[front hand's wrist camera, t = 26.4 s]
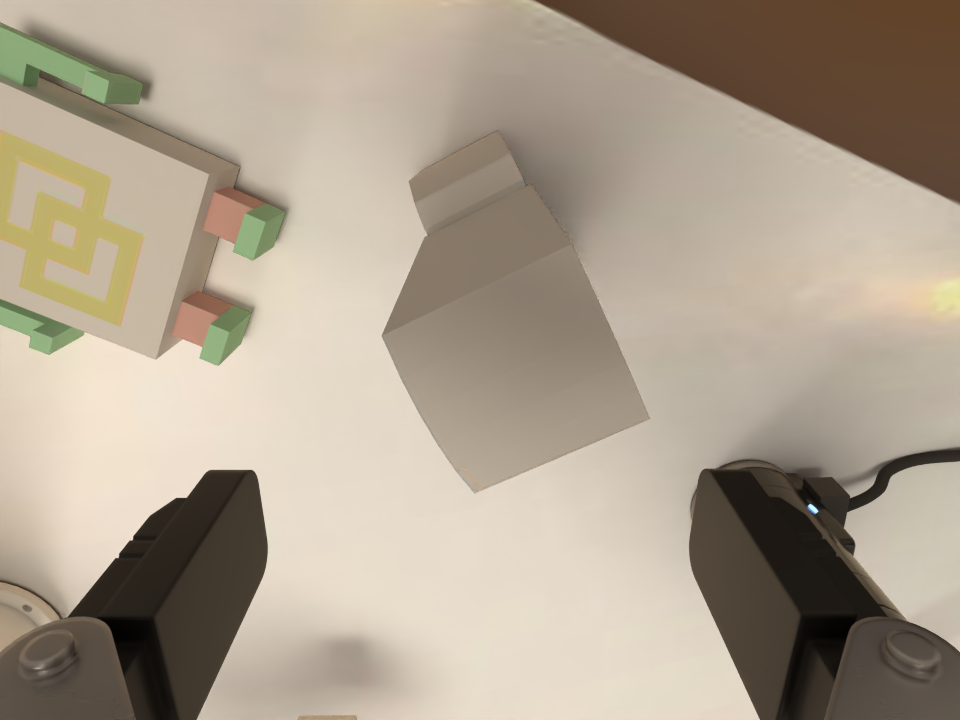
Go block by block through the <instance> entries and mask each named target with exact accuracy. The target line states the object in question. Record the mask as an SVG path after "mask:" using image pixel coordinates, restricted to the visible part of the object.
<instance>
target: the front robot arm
mask: <svg viewBox="0 0 960 720" xmlns="http://www.w3.org/2000/svg"><path fill="white" fill-rule="evenodd" d="M956 461H960V450H956V451H941V452H929V453H921V454H916V455H911V456H907V457H904V458H901V459H898V460H896V461H894V462H892V463H890V464H888V465H886V466H885V467H883V468H882V469H881V470H880V471H879V473H878V475H877V477H876V480H875V483H874V485H873V486H872V487H871V488H870V489H868V490H867V491H865V492H864V493H862V494H860V495H857V496H855V497H853V498H850V495H849V494H848V493H847V492H846V491H845V490H844V489H843V488H842V487H841V486H840V485H839V484H838V483H837V482H836V481H835V480H834V479H833V478H832V477H824V478H804V482H803V481H802V480H801V478H800V477H799V476H798V475H797V474H785V473H784V472H783V471H782V470H781V469H779V468H778V467H776V466H774V465H772V464H769V463H766V462H761V461H741V462H736V463H732V464H729V465H727V466H724V467H722V468H720V469H704V470H702V472H701V474H700V476H699V480H698V486H697V491H696V493H695V495H694V497H693V500H692V504H691V518H692V526H691V533H690V541H689V554H690V562H691V567H692V571H693V574H694V577H695V579H696V581H697V583H698V586H699V588H700V590H701V592H702V594H703V597H704V599H705V601H706V603H707V605H708V607H709V610H710V612H711V614H712V616H713V618H714V620H715V623H716V625H717V627H718V629H719V631H720V634H721V636H722V638H723V640H724V642H725V644H726V647H727V649H728V651H729V653H730V655H731V657H732V660H733V662H734V664H735V666H736V668H737V671H738V673H739V675H740V677H741V679H742V681H743V684H744V686H745V688H746V690H747V692H748V694H749V697H750V699H751V701H752V703H753V705H754V708H755V710H756V712H757V714H758V716H759V718H760V720H960V652H959V651H958V650H957V649H956V648H955V647H953V646H952V645H951V644H950V643H948V642H947V641H946V640H944V639H942V638H941V637H939V636H938V635H936V634H934V633H933V632H931V631H929V630H927V629H925V628H923V627H920V626H918V625H916V624H913V623H910V622H908V621H907V620H906V619H905V617H904V616H903V615H902V614H901V613H900V611H899V610H898V609H897V608H896V607H895V605H894V604H893V603H892V602H891V601H890V600H889V598H888V597H887V596H886V595H885V594H884V592H883V591H882V590H881V589H880V588H879V586H878V585H877V584H876V583H875V582H874V581H873V579H872V578H871V577H870V576H869V575H868V573H867V572H866V571H865V570H864V569H863V567H862V566H861V565H860V564H859V563H858V561H857V560H856V559H855V558H854V557H853V556H854V551H855V541H854V540H853V538H852V537H851V536H850V535H849V534H848V532H847V531H846V530H845V529H844V524H845V519H846V514H847V512H849V511H851V510H854V509H857V508H859V507H861V506H864V505H866V504H868V503H870V502H872V501H873V500H875V499H876V498H878V497H879V496H880V495H881V494H882V493H883V492H884V491H885V490H886V488H887V486H888V482H889V479H890V477H891V476H892V475H893V474H895V473H897V472H899V471H901V470H904V469H906V468H909V467H913V466H917V465H923V464H930V463H942V462H956ZM267 553H268V544H267V536H266V529H265V522H264V516H263V509H262V503H261V496H260V489H259V483H258V478H257V476H256V473H255V472H254V471H253V470H209V471H208V472H206V473H205V475H204V476H203V477H202V479H201V480H200V481H199V482H198V484H197V485H196V486H195V488H194V489H193V490H192V492H191V493H190V494H189V496H188V497H187V498H176V499H174V500H173V501H171V502H170V503H168V504H167V505H165V506H164V507H162V508H161V509H159V510H158V511H156V512H155V513H153V514H152V515H151V516H150V517H149V518H148V519H147V520H146V521H145V523H144V524H143V525H142V526H141V528H140V529H139V530H138V531H137V533H136V534H135V535H134V536H133V541H129V542H128V544H127V545H126V546H125V547H124V549H123V550H122V551H121V552H120V553H119V558H115V560H114V561H113V562H112V563H111V565H110V566H109V567H108V568H107V569H106V571H105V572H104V573H103V574H102V576H101V577H100V578H99V579H98V580H97V582H96V583H95V584H94V585H93V587H92V588H91V589H90V590H89V592H88V593H87V594H86V595H85V596H84V598H83V599H82V600H81V601H80V603H79V604H78V605H77V606H76V608H75V609H74V610H73V611H72V612H71V614H70V615H69V616H68V617H67V618H64V619H60V620H56V621H53V622H50V623H47V624H44V625H42V626H40V627H37V628H35V629H33V630H31V631H29V632H27V633H26V634H24V635H22V636H21V637H19V638H18V639H16V640H14V641H13V642H12V643H10V644H9V645H8V646H7V647H5V648H4V649H3V650H2V651H1V652H0V720H197V717H198V715H199V713H200V711H201V709H202V707H203V705H204V702H205V700H206V698H207V696H208V694H209V692H210V690H211V687H212V685H213V683H214V681H215V679H216V677H217V674H218V672H219V670H220V668H221V666H222V664H223V662H224V659H225V657H226V655H227V653H228V651H229V649H230V647H231V644H232V642H233V640H234V638H235V636H236V634H237V631H238V629H239V627H240V625H241V623H242V621H243V619H244V616H245V614H246V612H247V610H248V608H249V606H250V604H251V601H252V599H253V597H254V595H255V593H256V591H257V589H258V586H259V584H260V582H261V580H262V578H263V575H264V572H265V568H266V563H267Z"/></svg>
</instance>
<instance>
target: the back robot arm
mask: <svg viewBox="0 0 960 720" xmlns="http://www.w3.org/2000/svg"><path fill="white" fill-rule="evenodd" d="M56 620H60V618H59V616H58V615H57V614H56V612H55V611H54V610H53V609H52V608H51V607H50V606H49V605H48V604H47V603H45V602H44V601H43V600H42V599H40V598H39V597H37V596H35V595H34V594H32V593H31V592H29V591H26V590H24V589H22V588H19V587H17V586H14V585H10V584H7V583H2V582H0V652H1V651H2V650H3V649H4V648H5V647H7V646H8V645H9V644H10V643H12V642H13V641H14V640H16V639H18V638H19V637H21V636H22V635H24V634H26V633H27V632H29V631H31V630H33V629H35V628H37V627H40V626H42V625H44V624H47V623H50V622H53V621H56Z"/></svg>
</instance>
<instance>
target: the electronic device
mask: <svg viewBox="0 0 960 720" xmlns="http://www.w3.org/2000/svg"><path fill="white" fill-rule="evenodd" d="M409 184H410V188H411V191H412V195H413V199H414V203H415V205H416V208H417V211H418V213H419V216H420V219H421V221H422V224H423V227H424V229H425V231H426V232H427V234H428V236H426V237H425V238H424V240H423V242H422V244H421V247H420V249H419V251H418V254H417V256H416V258H415V260H414V263H413V265H412V267H411V270H410V272H409V274H408V277H407V279H406V281H405V283H404V286H403V288H402V290H401V293H400V295H399V297H398V299H397V302H396V304H395V306H394V309H393V311H392V313H391V316H390V318H389V320H388V322H387V325H386V327H385V329H384V332H383V334H382V338H383V340H384V342H385V344H386V347H387V349H388V351H389V353H390V355H391V358H392V360H393V362H394V364H395V366H396V369H397V371H398V373H399V375H400V378H401V380H402V382H403V384H404V385H405V387H406V389H407V391H408V393H409V395H410V397H411V399H412V401H413V403H414V404H415V406H416V408H417V410H418V412H419V414H420V416H421V417H422V419H423V421H424V422H425V424H426V426H427V427H428V429H429V431H430V432H431V434H432V436H433V437H434V439H435V441H436V442H437V444H438V446H439V447H440V449H441V450H442V452H443V453H444V455H445V456H446V457H447V459H448V460H449V462H450V463H451V465H452V466H453V468H454V469H455V471H456V472H457V473H458V474H459V475H460V477H461V478H462V479H463V480H464V481H465V483H466V484H467V485H468V486H469V487H470V489H471V490H472V491H473V492H474V493H477V492H479V491H482V490H484V489H486V488H489V487H491V486H493V485H496V484H498V483H500V482H503V481H505V480H507V479H510V478H512V477H514V476H517V475H519V474H521V473H524V472H526V471H529V470H531V469H533V468H536V467H538V466H540V465H543V464H545V463H547V462H550V461H552V460H554V459H557V458H559V457H561V456H564V455H566V454H568V453H571V452H573V451H576V450H578V449H580V448H583V447H585V446H587V445H590V444H592V443H594V442H597V441H599V440H601V439H604V438H606V437H608V436H611V435H613V434H616V433H618V432H620V431H623V430H625V429H627V428H630V427H632V426H634V425H637V424H639V423H641V422H644V421H646V420H648V419H650V418H649V416H648V413H647V411H646V408H645V406H644V404H643V401H642V399H641V396H640V394H639V392H638V389H637V387H636V385H635V382H634V380H633V378H632V375H631V373H630V371H629V368H628V366H627V364H626V362H625V359H624V357H623V355H622V353H621V350H620V348H619V346H618V344H617V341H616V339H615V337H614V335H613V332H612V330H611V328H610V326H609V323H608V321H607V319H606V317H605V315H604V312H603V310H602V308H601V306H600V304H599V302H598V299H597V297H596V295H595V293H594V291H593V288H592V286H591V284H590V282H589V280H588V278H587V275H586V273H585V271H584V269H583V267H582V265H581V263H580V260H579V258H578V256H577V254H576V252H575V250H574V248H573V245H572V243H571V242H570V240H569V239H568V238H567V236H566V235H565V233H564V232H563V230H562V229H561V227H560V226H559V224H558V223H557V222H556V220H555V219H554V217H553V216H552V214H551V213H550V211H549V210H548V208H547V207H546V206H545V204H544V203H543V201H542V200H541V198H540V197H539V195H538V194H537V192H536V191H535V190H534V188H533V187H532V185H531V184H528V185H525V182H524V180H523V178H522V176H521V174H520V172H519V170H518V167H517V165H516V163H515V161H514V159H513V157H512V155H511V153H510V151H509V149H508V147H507V146H506V144H505V142H504V140H503V138H502V137H501V135H500V133H499V131H498V130H497V131H496V132H494V133H492V134H490V135H488V136H486V137H484V138H482V139H480V140H479V141H477V142H475V143H473V144H471V145H469V146H467V147H465V148H463V149H461V150H460V151H458V152H456V153H454V154H452V155H450V156H448V157H446V158H444V159H443V160H441V161H439V162H437V163H435V164H433V165H431V166H429V167H427V168H425V169H424V170H422V171H421V172H420V173H418V174H417V175H416V176H415V177H413V178H412V179H411V180H410V181H409Z"/></svg>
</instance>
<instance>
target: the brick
mask: <svg viewBox="0 0 960 720" xmlns="http://www.w3.org/2000/svg"><path fill="white" fill-rule="evenodd" d="M298 720H357V718H356V716H299V717H298Z"/></svg>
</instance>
